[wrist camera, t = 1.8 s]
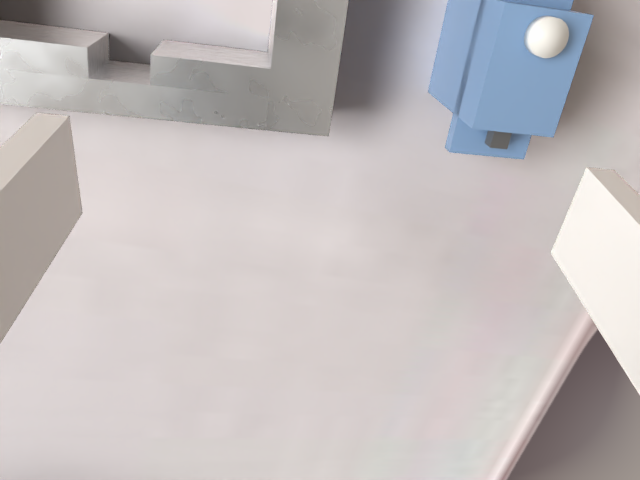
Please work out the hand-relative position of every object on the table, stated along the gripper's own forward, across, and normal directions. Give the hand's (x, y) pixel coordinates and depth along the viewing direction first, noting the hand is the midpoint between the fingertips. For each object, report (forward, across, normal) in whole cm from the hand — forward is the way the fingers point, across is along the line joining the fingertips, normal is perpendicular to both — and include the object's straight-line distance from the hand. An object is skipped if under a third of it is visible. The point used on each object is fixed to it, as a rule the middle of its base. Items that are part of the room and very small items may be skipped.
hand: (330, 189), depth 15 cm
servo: (+22, -10, +1) cm, 25 cm away
